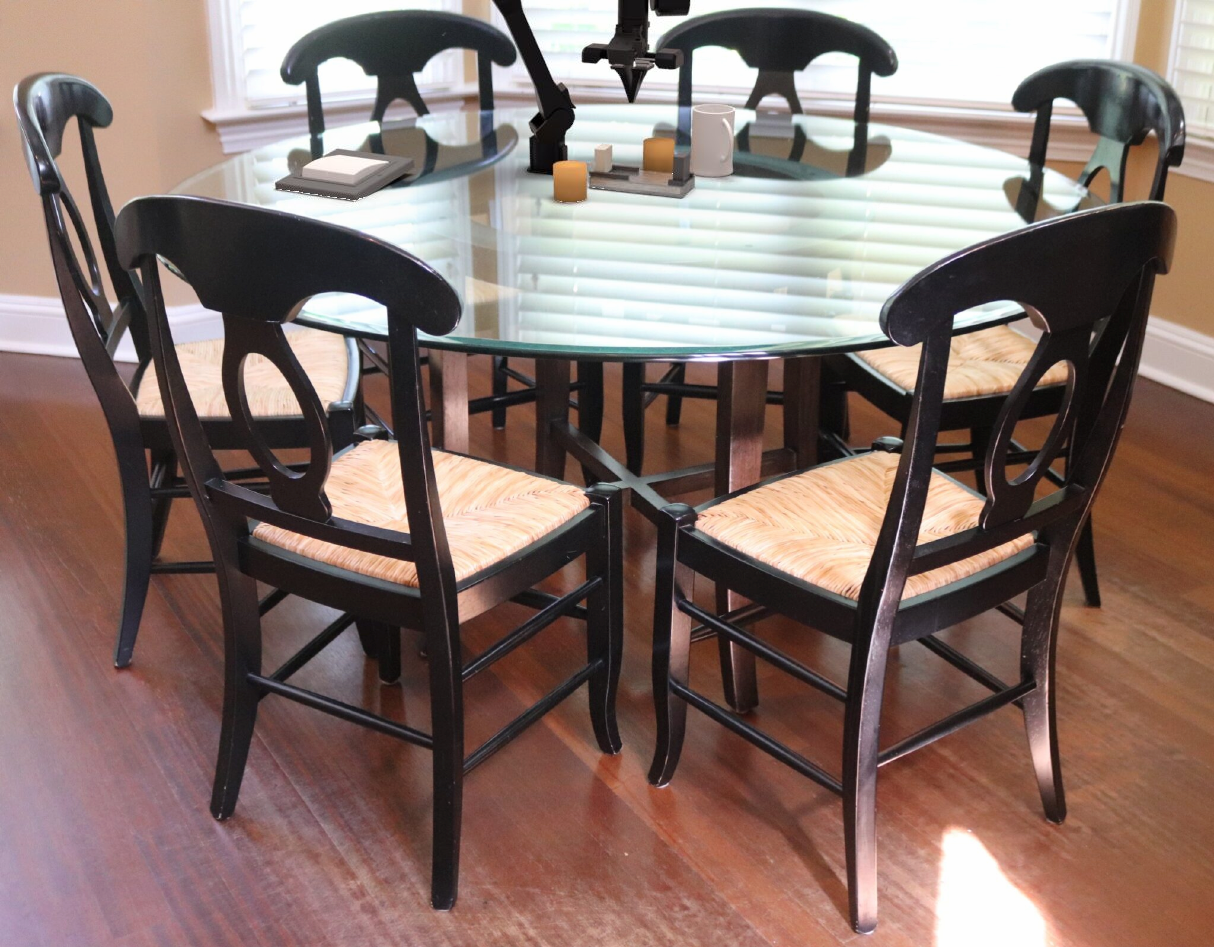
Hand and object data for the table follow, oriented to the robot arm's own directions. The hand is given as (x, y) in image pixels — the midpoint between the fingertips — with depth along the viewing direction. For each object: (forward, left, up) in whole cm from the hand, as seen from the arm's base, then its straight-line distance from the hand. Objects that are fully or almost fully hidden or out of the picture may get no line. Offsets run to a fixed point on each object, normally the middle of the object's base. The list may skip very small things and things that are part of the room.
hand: (631, 102), depth 239 cm
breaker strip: (+7, -14, -12) cm, 20 cm away
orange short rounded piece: (+7, -3, -12) cm, 14 cm away
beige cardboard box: (-1, -14, -10) cm, 17 cm away
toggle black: (+15, -14, -10) cm, 22 cm away
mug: (+17, 0, -12) cm, 21 cm away
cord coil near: (-3, -25, -12) cm, 28 cm away
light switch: (-46, -30, -13) cm, 57 cm away
